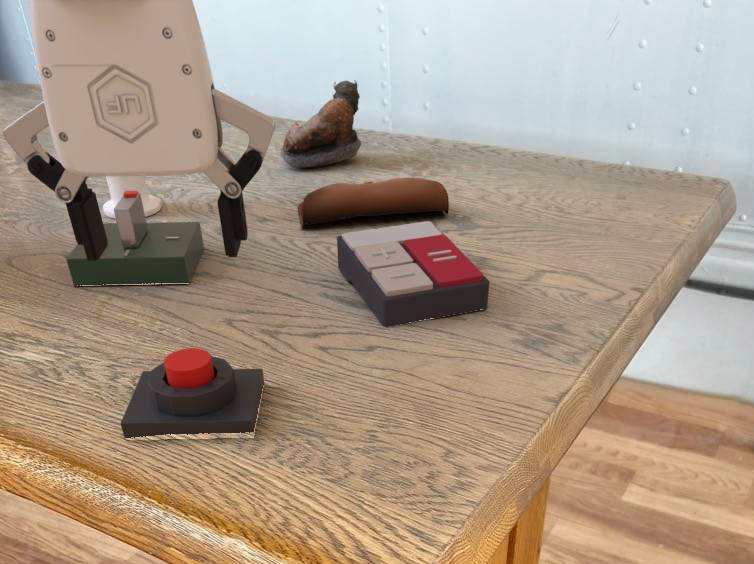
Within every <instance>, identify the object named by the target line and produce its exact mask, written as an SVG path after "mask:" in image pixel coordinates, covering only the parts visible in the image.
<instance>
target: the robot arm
mask: <svg viewBox="0 0 754 564" xmlns="http://www.w3.org/2000/svg"><path fill="white" fill-rule="evenodd" d="M28 5H29V15H30V25H31V34H32V41H33V47H34V54H35V60H36V66H37V72H38V77H39V82H40V83H39V84H40V88H41V93H42V98H43V101H41V102H39V103H38V104H37V105H35V106H34V107H32V108H31V109H30V110H28V111H27V112H25V113H24V114H22V115H21V116H20V117H18V118H17V119H15V120H14V121H13V122H11V123H9V125H7V126H6V127H4V129H3V131H2V136H3V138H4V140H5V141H6V143H7V144H8V146H10V147H11V149H12V150H13V151H14V152H15V154H16V155H17V156H18V157H19V159H20V160H21V161H22V162H24V163H25V165H26V166H27V170H28V171H29V173H30V175H32V176H33V177H34V178H36V179H37V180H38V181H39V182H41V183H43V185H45V186H46V187H48V188H49V189H50V190H51V191H53V192H54V194H55V197H56V199H58V201H59V202H61V203H63V204H65V206H66V210H67V213H68V217H69V220H70V225H71V228H72V231H73V234H74V238H75V242H76V245H77V244H78V245H83V246H84V250H85V253H86V257H87V260H88V261H97V260H98V259H99V258H100V257H101V255H102V254H103V252H104V251H105V249H106V248H107V246H108V241H107V237H106V233H105V229H104V225H103V224H104V222H103V218H102V214H101V209H100V207H99V202H98V199H97V194H96V192H95V191H93V189H92V188H90V187H88V183H87V181H88V179H89V177H90V178H92V177H93V178H106V177H117V176H145V177H149V176H150V177H151V176H152V177H153V176H154V177H156V176H180V175H181V176H183V175H194V174H199V173H203V174H204V175H205V176H206V177H207V178H208V179H209V180H210V181H211V182H212V183H213V184H214V185H215V186H216V188H218V189H219V192H220V193H219V196H218V198H217V201H216V203H217V210H218V216H219V223H220V229H221V234H222V240H223V241H222V242H223V247H224V248H223V249H224V253H225V256H228V258H237V257H238V254H239V251H240V247H241V244H242V241H243V242H245V241H247V240H248V235H249V234H248V233H249V231H248V224H247V223H248V222H247V217H246V210H245V203H244V202H245V201H244V195H243V191H244V189H245V188H246V187H247V186H248V184H249V183H250V182H251V181H252V179H253V178H254V177H255V176H256V174H257V173H258V172H259V171H260V169H261V167H262V166H263V162H264V160H265V157H266V154H267V151H268V149H269V147H270V143H271V140H272V138H273V134H274V132H275V128H276V123H275V120H274V119H273V118H272V117H270V116H269V115H267V114H265V113H263V112H261V111H259V110H257V109H255V108H253V107H251V106H249V105H247V104H246V103H244V102H242V101H240V100H239V99H236V98H234V97H232V96H229V94H226V93H223V92H222V91H220V90H218V89H217V88H216V87H215V82H214V79H213V73H212V68H211V64H210V60H209V57H208V52H207V47H206V44H205V39H204V36H203V31H202V29H201V25H200V21H199V19H198V15H197V11H196V8H195V4H194V2H193V0H28ZM222 121H223V122H225V123H228V124H229V125H231V126H233V127H235V128H237V129H240V130H241V131H243V132H245V134H247V136H248V138H249V141H248V145H247V147H246V150H245V152H244V153H243V154H242V155H241V156H240V158H239V159H238V160H237V161H234V160H233V158H231V156H230V155H229V154H228V153H227V152H226V151H225V150H224V149H223V148H222V146H223V142H224V140H223V139H224V137H223V126H222V125H223V124H222ZM48 127H49V132H50V136H51V140H52V143H53V146H54V150H55V154H56V156H57V159H56V158H55V157H53V155H51V154H50V153H49V152H47V151H45V150H44V148H43V146H42V145H41V143H40V142H39V140H38V134H39V133H40V132H42V131H43V130H45V129H46V128H48Z"/></svg>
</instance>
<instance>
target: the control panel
mask: <svg viewBox="0 0 754 564" xmlns="http://www.w3.org/2000/svg"><path fill="white" fill-rule="evenodd" d="M146 223H147V227H148V231H147V233H146V234H145V236H144V238H143V239H142V241H141V243H140V245H139V246H138V247H137V248H123V246H122V242H121V238H120V234H119V230H118V226H117V222H115V223H114V222H113V223H103V225H104V229H105V233H106V237H107V241H108V246H107V248H106V249H105V251H104V252H103V254H102V255H101V257H100V258H99V259H98V260H97V261H88V260H87V257H86V253H85V250H84V246H83V245H78V244H77V243H76V245H75V246H74V247H73V249H72V250H71V252H70V253H69V254H68V256H67V257H66V263H67V267H68V270H69V274H70V277H71V281H72V284H73V287H74V286H77V285H78V286H80V285H81V286H82V285H103V284H104V285H106V284H142V283H143V284H145V283H146V284H148V283H150V284H151V283H154V284H155V283H161V284H162V283H189V282H190V280H191V281H192V279H193V277H192V275H193V276H194V274H195V271H196V269H197V267H198V265H199V262H200V259H201V257H202V255H203V251H204V250H205V244H204V238H203V233H202V232H203V231H202V227H201V222H200V221H179V222H178V221H177V222H176V221H175V222H174V221H173V222H171V221H170V222H167V221H166V222H146ZM191 278H192V279H191ZM190 283H191V282H190Z"/></svg>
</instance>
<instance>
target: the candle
mask: <svg viewBox="0 0 754 564" xmlns="http://www.w3.org/2000/svg"><path fill="white" fill-rule="evenodd" d="M105 178H106V182H107V183H106V184H107V187H108V191H109V195H110V199H109V200H107V201H105V202H104V203H103V205H102V210H103V214H104V216H106V217H108V218H111V219H114V220H116V217H115V213H114V208H115V206H116V205H117V204H118V202H119V201H120V200H121V198H122V197H123V194H124V192H125V191H138V193H140V195H141V200H142V204H143V209H144V213H145V218H147V217H150V216H153V215H155V214H156V213H159V212H160V211H161V209H162V202H161V200H160V199H159V198H158V197H156V196H153V195H150V194H149V190H148V185H147V182H146V181H147V180H146V176H117V177H105Z"/></svg>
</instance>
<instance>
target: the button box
mask: <svg viewBox="0 0 754 564" xmlns="http://www.w3.org/2000/svg"><path fill="white" fill-rule="evenodd" d="M211 359H212V365H213V370H214V376H215V377H214V380H212V381H211V382H210V383H208V384H206V385H203V386H199V387H196V388H188V389H178V388H175V387H172V386H170V385H169V383H168V379H167V375H166V370H165V366H164V361H163V362H162V363H160V364H158V365H157V366H155V367H154V368H152V370H143V371H142V372H141V374H140V377H139V379H138V381H137V384H136V385H135V389H134V391H133V393H132V395H131V398H130V400H129V402H128V405H127V407H126V410H125V411H124V414H123V416H122V419H121V420H120V426H121V430H122V435H123V437H124V439H125V438H131V437H134V438H135V437H140V436H141V437H143V436H145V437H146V436H155V435H164V434H165V435H166V434H170V435H171V434H187V435H188V434H199V433H202V434H204V433H208V434H210V433H240V432H241V433H245V432H249V433H250V432H254V428H255V423H256V418H257V414H258V408H259V404H260V399H261V394H262V389H263V385H264V384H265V378H264V370H263V368H233V366H232V365H231V364H230V363H229V362H228V361H227V360H226V359H224V358H222V357H221V358H220V357H217V356H213V355H211Z"/></svg>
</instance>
